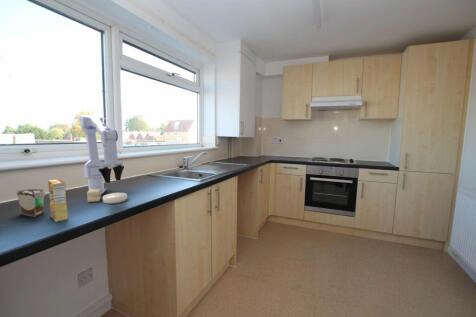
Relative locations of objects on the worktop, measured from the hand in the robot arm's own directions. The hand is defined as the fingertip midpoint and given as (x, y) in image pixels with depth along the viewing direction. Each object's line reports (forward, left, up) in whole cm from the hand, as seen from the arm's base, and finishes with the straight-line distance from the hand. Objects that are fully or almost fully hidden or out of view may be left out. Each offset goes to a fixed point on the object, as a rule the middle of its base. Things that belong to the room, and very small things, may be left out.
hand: (113, 181), depth 112 cm
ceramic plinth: (-3, 0, -11) cm, 11 cm away
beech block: (-7, -10, -11) cm, 16 cm away
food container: (+6, -29, -11) cm, 31 cm away
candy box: (+16, -18, -11) cm, 26 cm away
